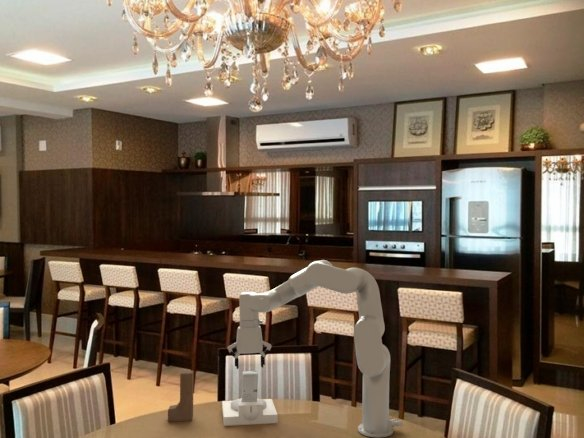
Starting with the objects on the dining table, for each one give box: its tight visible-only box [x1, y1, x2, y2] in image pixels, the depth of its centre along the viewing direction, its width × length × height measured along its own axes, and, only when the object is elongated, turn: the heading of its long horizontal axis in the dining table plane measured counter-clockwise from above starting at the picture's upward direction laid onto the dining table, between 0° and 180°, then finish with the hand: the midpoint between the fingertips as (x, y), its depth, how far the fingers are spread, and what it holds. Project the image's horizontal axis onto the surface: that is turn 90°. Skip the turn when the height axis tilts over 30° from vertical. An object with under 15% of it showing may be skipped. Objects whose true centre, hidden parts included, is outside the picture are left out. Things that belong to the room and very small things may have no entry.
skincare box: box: [241, 370, 259, 402], centre depth 212 cm, size 6×4×12 cm
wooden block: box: [167, 370, 195, 422], centre depth 206 cm, size 9×4×18 cm, turn 93°
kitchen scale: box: [221, 397, 279, 427], centre depth 210 cm, size 20×18×8 cm
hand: (249, 367), depth 212 cm, fingers open, 9 cm apart
